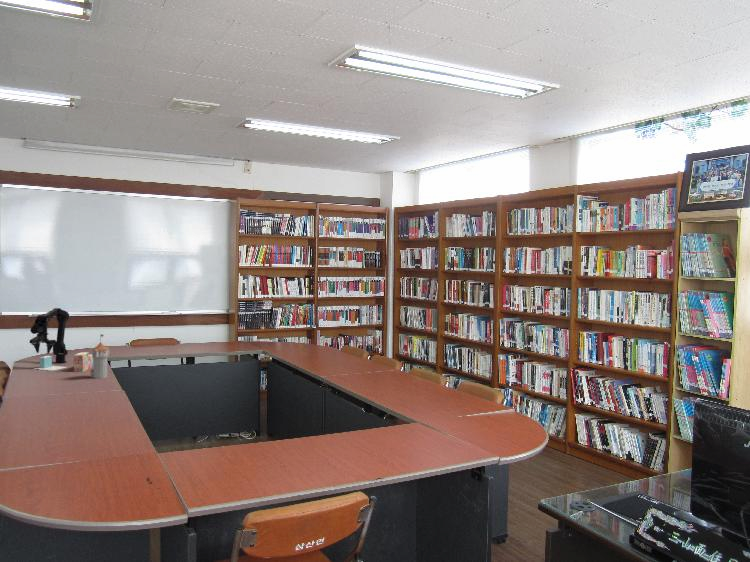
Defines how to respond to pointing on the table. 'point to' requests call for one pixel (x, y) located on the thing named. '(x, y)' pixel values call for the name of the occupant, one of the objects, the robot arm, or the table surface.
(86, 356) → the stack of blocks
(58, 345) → the robot arm
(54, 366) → the mat
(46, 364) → the turquoise box
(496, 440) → the table surface
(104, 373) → the model building
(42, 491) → the table surface
